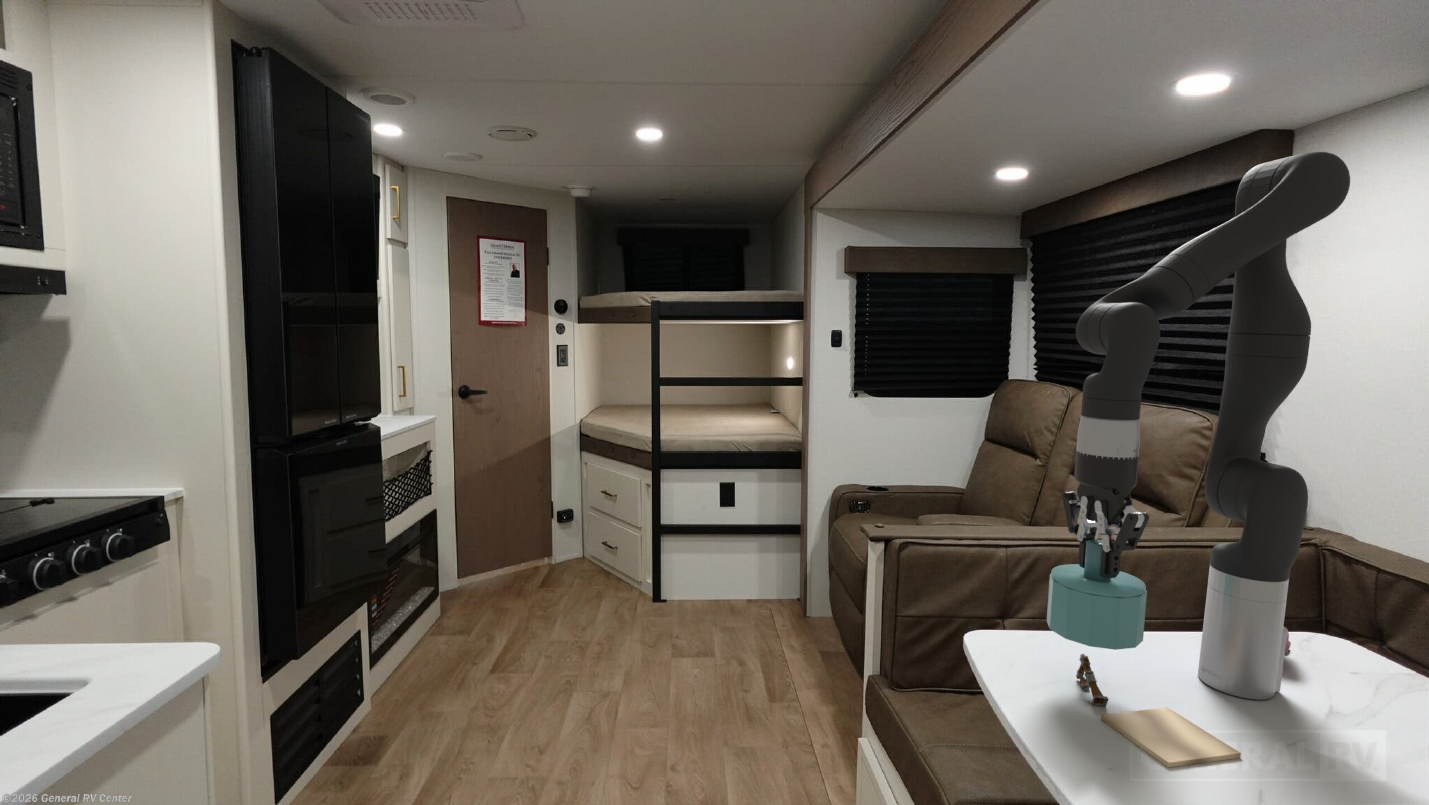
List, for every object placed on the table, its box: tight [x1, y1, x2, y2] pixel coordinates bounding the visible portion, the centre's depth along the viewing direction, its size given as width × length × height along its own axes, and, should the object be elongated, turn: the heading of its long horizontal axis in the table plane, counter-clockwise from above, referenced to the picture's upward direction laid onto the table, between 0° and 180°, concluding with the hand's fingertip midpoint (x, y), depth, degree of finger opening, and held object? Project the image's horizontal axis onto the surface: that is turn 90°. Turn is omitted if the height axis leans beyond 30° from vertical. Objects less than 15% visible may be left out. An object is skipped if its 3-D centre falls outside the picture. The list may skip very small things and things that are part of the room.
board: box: [1100, 707, 1242, 768], centre depth 91 cm, size 11×11×1 cm
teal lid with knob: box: [1046, 539, 1148, 651], centre depth 100 cm, size 12×12×13 cm
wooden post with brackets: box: [1075, 653, 1109, 708], centre depth 102 cm, size 2×8×4 cm, turn 173°
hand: (1097, 571), depth 100 cm, fingers closed on teal lid with knob, 3 cm apart
